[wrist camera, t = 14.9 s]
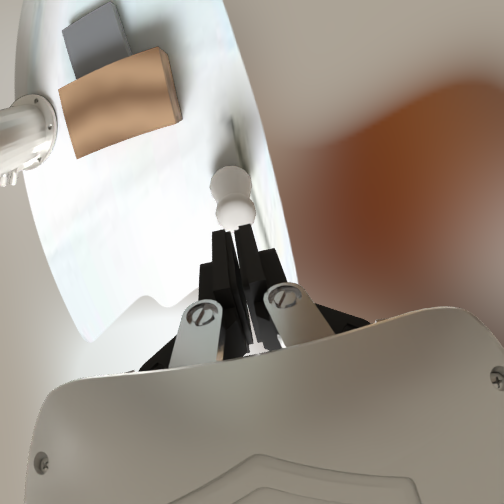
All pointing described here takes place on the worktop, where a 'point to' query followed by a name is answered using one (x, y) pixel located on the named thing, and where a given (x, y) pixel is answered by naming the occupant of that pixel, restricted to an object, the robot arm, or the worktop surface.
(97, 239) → the worktop surface
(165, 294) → the worktop surface
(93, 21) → the board
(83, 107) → the open wooden box
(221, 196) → the salt shaker
